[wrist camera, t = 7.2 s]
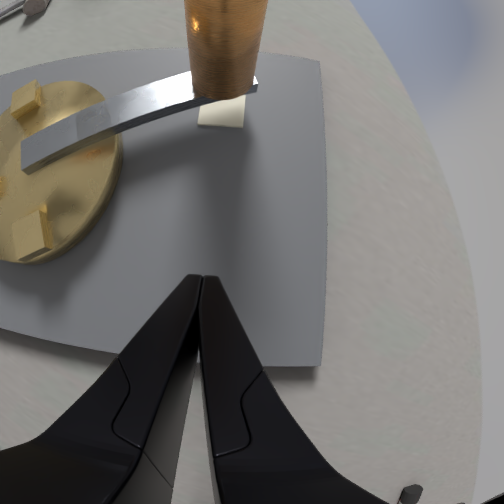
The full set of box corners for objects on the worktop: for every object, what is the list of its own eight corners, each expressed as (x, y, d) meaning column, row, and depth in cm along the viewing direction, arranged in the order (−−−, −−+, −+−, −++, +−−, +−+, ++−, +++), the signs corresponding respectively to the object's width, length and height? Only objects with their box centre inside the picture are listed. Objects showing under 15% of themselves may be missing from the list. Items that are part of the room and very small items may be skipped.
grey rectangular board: (-56, 305, 17) (-67, 305, 15) (-2, 85, 21) (-9, 77, 19) (314, 361, 20) (321, 366, 18) (315, 71, 24) (320, 59, 22)
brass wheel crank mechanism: (-11, 289, 17) (-166, 266, 2) (-18, 139, 18) (-112, 57, 3) (283, 178, 20) (386, -14, 5) (220, 39, 21) (229, -114, 6)
